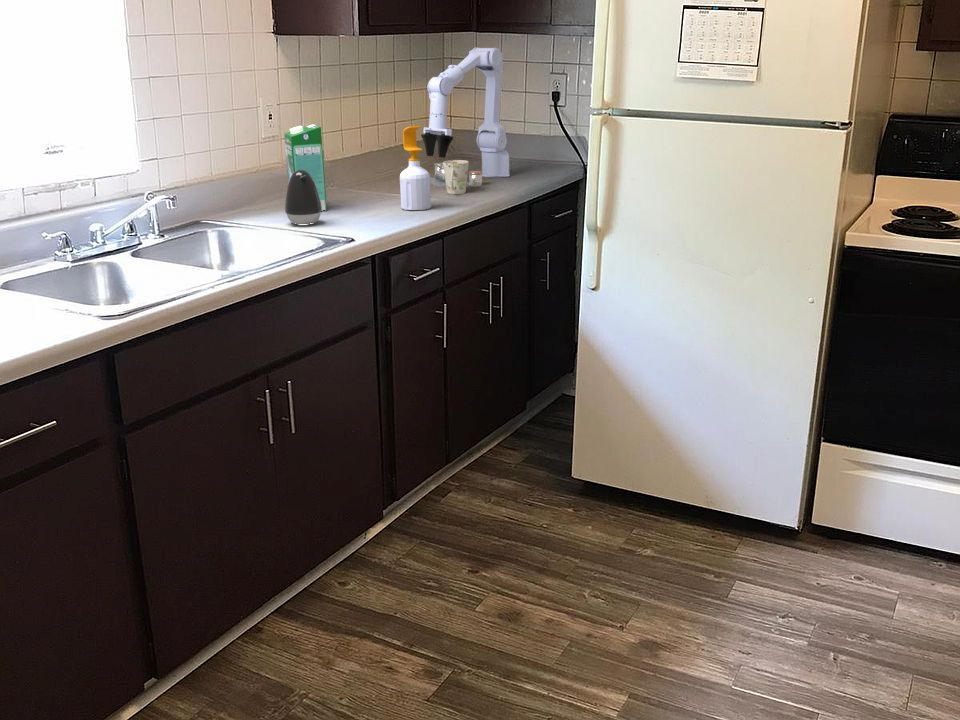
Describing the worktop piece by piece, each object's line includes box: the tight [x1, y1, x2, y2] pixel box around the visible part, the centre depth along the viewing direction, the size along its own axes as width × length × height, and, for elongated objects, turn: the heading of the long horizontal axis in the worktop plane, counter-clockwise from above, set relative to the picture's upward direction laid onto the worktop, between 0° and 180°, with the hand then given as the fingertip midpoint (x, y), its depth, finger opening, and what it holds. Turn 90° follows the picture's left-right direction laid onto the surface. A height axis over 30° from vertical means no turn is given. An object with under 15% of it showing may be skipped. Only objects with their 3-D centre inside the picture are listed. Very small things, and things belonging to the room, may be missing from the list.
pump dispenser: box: [284, 170, 322, 224], centre depth 274 cm, size 10×10×15 cm
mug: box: [442, 159, 470, 195], centre depth 316 cm, size 8×13×10 cm, turn 174°
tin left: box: [433, 162, 443, 179], centre depth 343 cm, size 5×5×5 cm
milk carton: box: [283, 123, 328, 211], centre depth 291 cm, size 9×9×25 cm
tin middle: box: [439, 165, 446, 182], centre depth 338 cm, size 5×5×5 cm
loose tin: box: [468, 170, 483, 187], centre depth 328 cm, size 5×5×5 cm
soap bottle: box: [399, 125, 432, 211], centre depth 291 cm, size 9×9×25 cm
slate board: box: [430, 177, 469, 187], centre depth 338 cm, size 12×18×1 cm, turn 18°
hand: (435, 156), depth 325 cm, fingers open, 7 cm apart
